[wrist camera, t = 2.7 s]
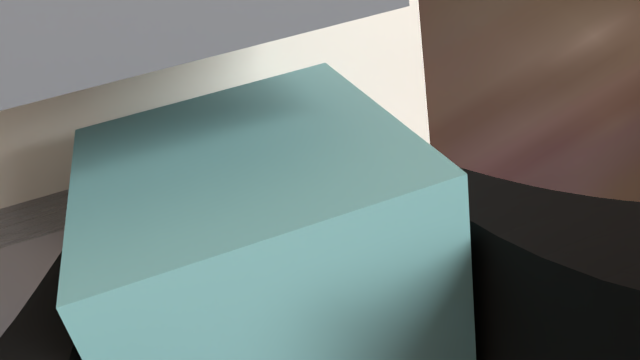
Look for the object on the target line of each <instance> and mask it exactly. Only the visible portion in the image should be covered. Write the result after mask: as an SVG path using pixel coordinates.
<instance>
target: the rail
mask: <svg viewBox="0 0 640 360" xmlns="http://www.w3.org/2000/svg"><path fill="white" fill-rule="evenodd" d="M68 192H69V189H68V190H64V191H61V192H57V193H54V194H50V195H47V196H43V197H40V198H36V199H33V200H29V201H26V202H23V203H19V204H16V205H12V206H9V207H5V208H2V209H0V337H1V336H2V334H3V333H4V332H5V331H6V329H7V328H8V327H9V326H10V324H11V323H12V322H13V320H14V319H15V318H16V317H17V315H18V314H19V312H20V311H21V310H22V308H23V307H24V305H25V304H26V302H27V301H28V300H29V298H30V297H31V295H32V294H33V292H34V291H35V290H36V288H37V287H38V285H39V284H40V282H41V281H42V280H43V278H44V277H45V275H46V274H47V272H48V271H49V269H50V268H51V266H52V265H53V263H54V262H55V260H56V259H57V257H58V256H59V254H60V253H61V251H62V248H63V239H64V229H65V220H66V211H67V202H68Z"/></svg>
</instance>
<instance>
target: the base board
mask: <svg viewBox="0 0 640 360" xmlns="http://www.w3.org/2000/svg"><path fill="white" fill-rule="evenodd" d="M322 63H327V64H328V65H329V66H330V67H332V68H333V69H334V70H335V71H337V72H338V73H339V74H341V75H342V76H343V77H344V78H346V79H347V80H348V81H350V82H351V83H352V84H353V85H355V86H356V87H357V88H358V89H360V90H361V91H362V92H364V93H365V94H366V95H367V96H369V97H370V98H371V99H372V100H374V101H375V102H376V103H378V104H379V105H380V106H381V107H383V108H384V109H385V110H386V111H388V112H389V113H390V114H392V115H393V116H394V117H395V118H397V119H398V120H399V121H400V122H402V123H403V124H404V125H406V126H407V127H408V128H409V129H411V130H412V131H413V132H415V133H416V134H417V135H418V136H420V137H421V138H422V139H423V140H425V141H426V142H427V143H429V144H430V139H429V127H428V114H427V102H426V90H425V78H424V65H423V53H422V41H421V29H420V17H419V4H418V0H409V6H408V7H404V8H400V9H396V10H392V11H388V12H384V13H380V14H376V15H372V16H369V17H365V18H361V19H357V20H353V21H349V22H345V23H341V24H337V25H333V26H330V27H326V28H322V29H318V30H314V31H310V32H306V33H302V34H298V35H294V36H290V37H287V38H283V39H279V40H275V41H271V42H267V43H263V44H259V45H255V46H251V47H248V48H244V49H240V50H236V51H232V52H228V53H224V54H220V55H216V56H212V57H208V58H205V59H201V60H197V61H193V62H189V63H185V64H181V65H177V66H173V67H169V68H166V69H162V70H158V71H154V72H150V73H146V74H142V75H138V76H134V77H130V78H126V79H123V80H119V81H115V82H111V83H107V84H103V85H99V86H95V87H91V88H87V89H84V90H80V91H76V92H72V93H68V94H64V95H60V96H56V97H52V98H48V99H44V100H41V101H37V102H33V103H29V104H25V105H21V106H17V107H13V108H9V109H5V110H2V111H0V209H2V208H5V207H9V206H12V205H16V204H19V203H23V202H26V201H29V200H33V199H36V198H40V197H43V196H47V195H50V194H54V193H57V192H61V191H64V190H68V189H69V183H70V174H71V165H72V156H73V146H74V137H75V130H76V129H80V128H84V127H87V126H91V125H95V124H99V123H102V122H106V121H110V120H113V119H117V118H121V117H125V116H128V115H132V114H136V113H140V112H143V111H147V110H151V109H154V108H158V107H162V106H166V105H169V104H173V103H177V102H180V101H184V100H188V99H192V98H195V97H199V96H203V95H206V94H210V93H214V92H218V91H221V90H225V89H229V88H233V87H236V86H240V85H244V84H247V83H251V82H255V81H259V80H262V79H266V78H270V77H273V76H277V75H281V74H285V73H288V72H292V71H296V70H299V69H303V68H307V67H311V66H314V65H318V64H322Z"/></svg>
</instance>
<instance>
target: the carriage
mask: <svg viewBox="0 0 640 360" xmlns="http://www.w3.org/2000/svg"><path fill="white" fill-rule="evenodd" d="M56 309H57V311H58V313H59V315H60V317H61V319H62V321H63V323H64V325H65V327H66V329H67V331H68V333H69V335H70V337H71V339H72V341H73V343H74V345H75V347H76V349H77V351H78V353H79V355H80V357H81V359H82V360H476V342H475V321H474V301H473V280H472V260H471V239H470V218H469V198H468V177H467V173H466V172H464V171H463V170H462V169H460V168H459V167H458V166H457V165H455V164H454V163H453V162H451V161H450V160H449V159H448V158H446V157H445V156H444V155H443V154H441V153H440V152H439V151H437V150H436V149H435V148H434V147H432V146H431V145H430V144H429V143H427V142H426V141H425V140H423V139H422V138H421V137H420V136H418V135H417V134H416V133H415V132H413V131H412V130H411V129H409V128H408V127H407V126H406V125H404V124H403V123H402V122H400V121H399V120H398V119H397V118H395V117H394V116H393V115H392V114H390V113H389V112H388V111H386V110H385V109H384V108H383V107H381V106H380V105H379V104H378V103H376V102H375V101H374V100H372V99H371V98H370V97H369V96H367V95H366V94H365V93H364V92H362V91H361V90H360V89H358V88H357V87H356V86H355V85H353V84H352V83H351V82H350V81H348V80H347V79H346V78H344V77H343V76H342V75H341V74H339V73H338V72H337V71H335V70H334V69H333V68H332V67H330V66H329V65H328V64H327V63H322V64H318V65H314V66H311V67H307V68H303V69H299V70H296V71H292V72H288V73H285V74H281V75H277V76H273V77H270V78H266V79H262V80H259V81H255V82H251V83H247V84H244V85H240V86H236V87H233V88H229V89H225V90H221V91H218V92H214V93H210V94H206V95H203V96H199V97H195V98H192V99H188V100H184V101H180V102H177V103H173V104H169V105H166V106H162V107H158V108H154V109H151V110H147V111H143V112H140V113H136V114H132V115H128V116H125V117H121V118H117V119H113V120H110V121H106V122H102V123H99V124H95V125H91V126H87V127H84V128H80V129H76V130H75V137H74V146H73V156H72V165H71V174H70V183H69V192H68V202H67V211H66V220H65V229H64V239H63V248H62V257H61V266H60V275H59V285H58V294H57V303H56Z"/></svg>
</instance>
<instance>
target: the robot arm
mask: <svg viewBox="0 0 640 360" xmlns="http://www.w3.org/2000/svg"><path fill="white" fill-rule="evenodd" d="M459 168H460V167H459ZM460 169H462V170H463V171H464V172H466V173H467V177H468V198H469V218H470V239H471V260H472V280H473V301H474V321H475V342H476V360H640V202H633V201H622V200H614V199H606V198H598V197H591V196H585V195H578V194H572V193H566V192H560V191H554V190H548V189H543V188H538V187H533V186H529V185H525V184H520V183H516V182H512V181H508V180H504V179H500V178H495V177H492V176H488V175H484V174H481V173H477V172H473V171H470V170H466V169H463V168H460ZM61 257H62V251H61V253H60V254H59V256H58V257H57V259H56V260H55V262H54V263H53V265H52V266H51V268H50V269H49V271H48V272H47V274H46V275H45V277H44V278H43V280H42V281H41V282H40V284H39V285H38V287H37V288H36V290H35V291H34V292H33V294H32V295H31V297H30V298H29V300H28V301H27V302H26V304H25V305H24V307H23V308H22V310H21V311H20V312H19V314H18V315H17V317H16V318H15V319H14V320H13V322H12V323H11V324H10V326H9V327H8V328H7V329H6V331H5V332H4V333H3V334H2V336H1V337H0V360H82V359H81V357H80V355H79V353H78V351H77V349H76V347H75V345H74V343H73V341H72V339H71V337H70V335H69V333H68V331H67V329H66V327H65V325H64V323H63V321H62V319H61V317H60V315H59V313H58V311H57V309H56V303H57V294H58V285H59V275H60V266H61Z"/></svg>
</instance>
